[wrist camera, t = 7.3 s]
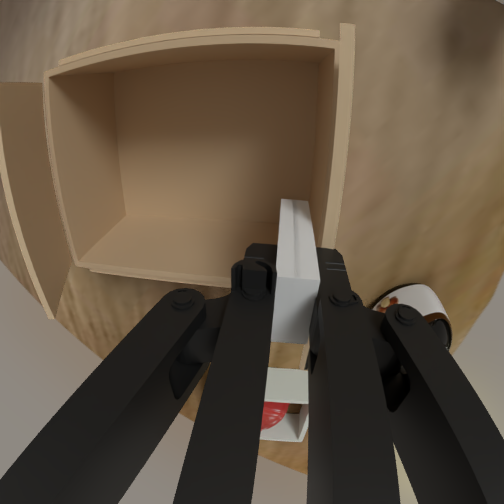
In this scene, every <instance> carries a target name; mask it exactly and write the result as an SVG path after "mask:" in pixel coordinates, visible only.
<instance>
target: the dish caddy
mask: <svg viewBox="0 0 504 504" xmlns="http://www.w3.org/2000/svg"><path fill="white" fill-rule="evenodd" d="M264 401H268V402H281V403H297V404H302V407H301V410H300V413H299V414H291V413H286V414H285V416H284V418H283V419H282V420H281V421H280V422H279V423H277V424H276V425H275V426H273V427H271V428H269V429H264V430H262V431H261V433H260V439H263V440H275V441H291V442H302V440H303V438H304V436H305V433H306V431H307V428H308V371H304V370H298V369H283V368H270V367H268V372H267V382H266V391H265V399H264Z"/></svg>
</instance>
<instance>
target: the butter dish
mask: <svg viewBox="0 0 504 504" xmlns="http://www.w3.org/2000/svg"><path fill="white" fill-rule="evenodd" d="M290 404H291V403H281V402H268V401H264V408H263V416H262V425H261V431H262V430H264V429H269V428H271V427H273V426H275V425H276V424H277V423H279V422H280V421H281V420H282V419H283V418H284V416H285V414H286V412H287V409H288V406H289V405H290Z"/></svg>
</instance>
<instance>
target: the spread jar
mask: <svg viewBox="0 0 504 504" xmlns="http://www.w3.org/2000/svg"><path fill="white" fill-rule="evenodd" d="M393 304H405V305H409V306H411V307H413V308H415V309H416V310H418V311H419V312H420V313H421V314H422V316H423V317H424V318H425V320H426V321H427V322H428V324H429V325H430V326H431V328H432V329H433V330H434V332H435V333H436V335H437V336H438V337H439V339H440V340H441V341H442V343H443V344H444V346H445V347H446V348H447V350H448V351H449V349H450V347H451V343H452V329H451V324H450V321H449V318H448V316H447V314H446V312H445V310H444V308H443V306H442V304H441V302H440V300H439V299H438V297H437V295H436V294H435V293H434V292H433V290H432V289H430V288H429V287H428V286H426V285H424V284H420V283H409V284H403V285H400V286H397V287H394V288H392V289H391V290H389V291H388V292H386V293H385V294H384V295H383V296H382V297H381V298H380V299H379V300H378V301H377V302H376V303H375V305H374V306H373V307H372V310H375V311H379V312H383V313H385V311H386V309H387V308H388V307H389V306H390V305H393Z"/></svg>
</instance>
